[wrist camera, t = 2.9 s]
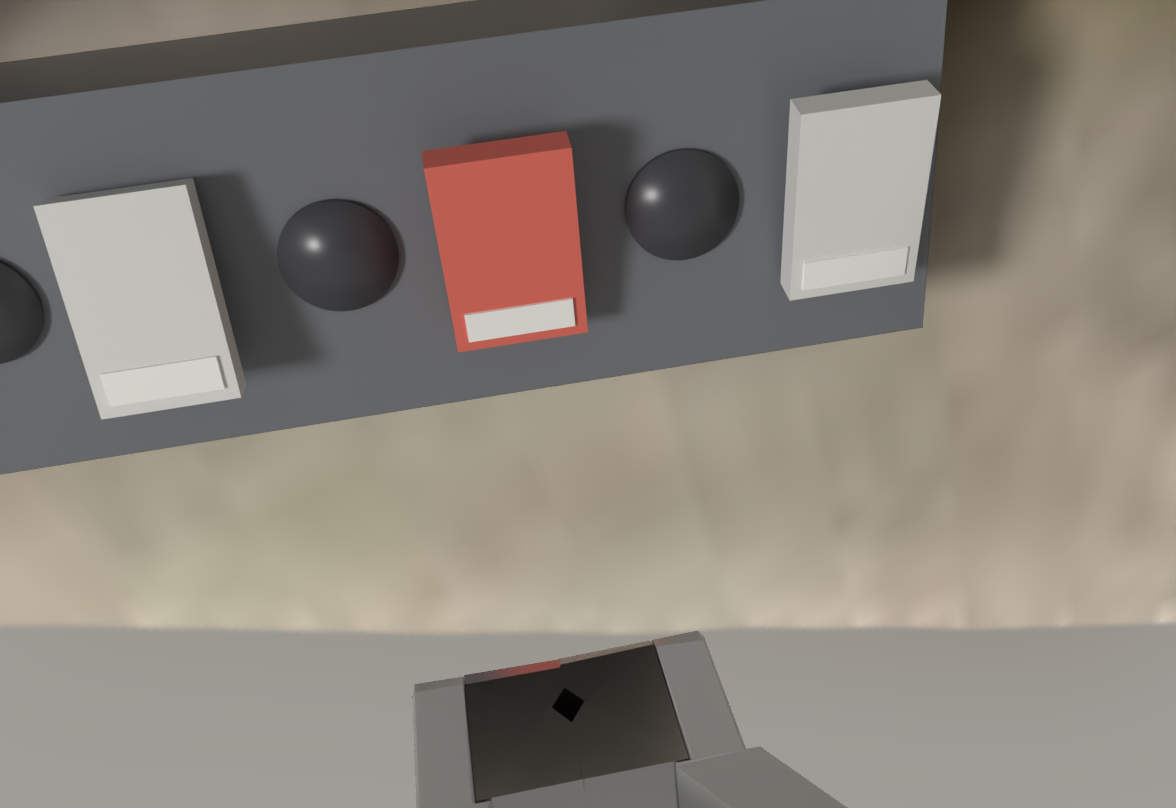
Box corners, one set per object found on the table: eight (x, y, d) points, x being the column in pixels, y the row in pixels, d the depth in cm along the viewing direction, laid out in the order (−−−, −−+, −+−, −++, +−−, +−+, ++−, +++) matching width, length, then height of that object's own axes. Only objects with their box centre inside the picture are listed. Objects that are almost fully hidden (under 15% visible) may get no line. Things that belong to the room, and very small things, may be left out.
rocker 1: (192, 177, 24) (184, 185, 24) (246, 385, 26) (240, 398, 26) (45, 198, 24) (32, 206, 23) (110, 406, 26) (100, 420, 25)
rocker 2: (927, 79, 25) (942, 96, 24) (901, 264, 28) (914, 283, 28) (790, 99, 25) (802, 116, 24) (780, 282, 28) (790, 302, 27)
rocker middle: (566, 130, 24) (572, 148, 24) (582, 313, 28) (588, 334, 27) (421, 151, 24) (424, 170, 23) (455, 333, 27) (458, 354, 27)
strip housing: (882, -53, 28) (952, -23, 25) (868, 266, 33) (925, 330, 29) (-127, 79, 26) (-208, 132, 23) (13, 399, 31) (-36, 483, 27)
